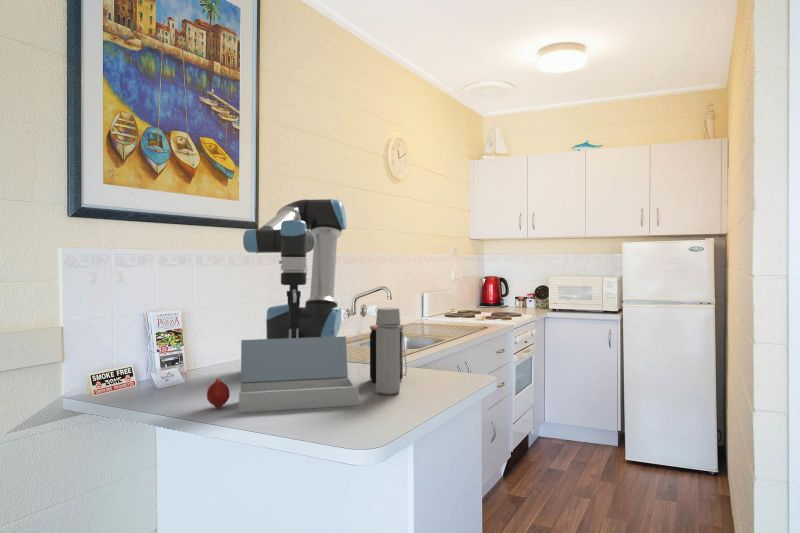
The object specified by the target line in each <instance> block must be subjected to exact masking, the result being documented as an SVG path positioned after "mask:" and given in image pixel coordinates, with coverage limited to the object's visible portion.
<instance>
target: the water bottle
mask: <svg viewBox="0 0 800 533" xmlns="http://www.w3.org/2000/svg"><path fill="white" fill-rule="evenodd" d="M400 312H401V311H400V308H399V307H380V308H379V307H378V308H377V310H376V322H375V325H377V326H378V327H376V383H375V385H376V388H375V391H376V393H378V394H379V395H384V396H392V395H396V394H398V393H400V390H401V381H400V372H401V363H400V327H401V332H402V333H401V362H402V336H403V337H404V331H403V330H404V325H403V324H401V313H400ZM398 325H399V326H398ZM403 346H405V341H404V338H403ZM403 352H404V353H403V354H404V361H405V363H404V364H405V372H404V373H403V374H402V373H401V374H402V376H403V377H404V376H405V377H406V375H407V369H408V368H407V367H408V366H407V357H406V350H405V347H403Z"/></svg>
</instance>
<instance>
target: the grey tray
mask: <svg viewBox="0 0 800 533" xmlns="http://www.w3.org/2000/svg"><path fill="white" fill-rule="evenodd" d="M359 388H360V386H359V385H358V384H357V383H356V381H355V380H354V378H353V377H348V378H338V379H319V380H299V381H280V382H260V383H241V382H240V391H239V393H238V400H239V401H238V409H239V410H238V413H239V414H242V413H243V414H244V413H256V412H257V413H258V412H260V413H261V412H271V411H272V412H274V411H290V410H305V409H306V410H307V409H308V410H309V409H321V408H335V407H351V406H354V407H355V406H359V405H360V402H359V401H360V398H359V397H360V396H359V395H360V394H359V393H360V392H359V391H360V389H359Z"/></svg>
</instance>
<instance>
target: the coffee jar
mask: <svg viewBox="0 0 800 533" xmlns="http://www.w3.org/2000/svg"><path fill="white" fill-rule="evenodd" d="M398 326H399V325H398ZM376 327H378V326H377V325H376V324H370V326H369V328H370V330H371V332H370V333H369V378H370V380H371V381H372V383H374V384H376ZM401 333H402V330H401V327H400V363H401V372H400V382H401V381H402V379H403V378H404V376H402V374H403V375H404V371H403V370H404V369H403V368H404V366H403V364H404V363H403V362H404V361H403V360H404V358H403V354H404V353H403V352H404V345H403V339H404V335H403V336H402V362H401ZM401 373H402V374H401Z"/></svg>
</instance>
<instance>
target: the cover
mask: <svg viewBox="0 0 800 533" xmlns="http://www.w3.org/2000/svg"><path fill="white" fill-rule="evenodd" d="M240 345H241V346H240V348H241V349H240V352H241V353H240V354H241V356H240V384H241V383H260V382H280V381H299V380H319V379H338V378H349V377H348V376H349V375H348V371H349V370H348V355H347V354H348V353H347V337H346V336H336V337H316V338H286V339H267V338H266V339H265V338H264V339H263V338H261V339H241V341H240Z"/></svg>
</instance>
